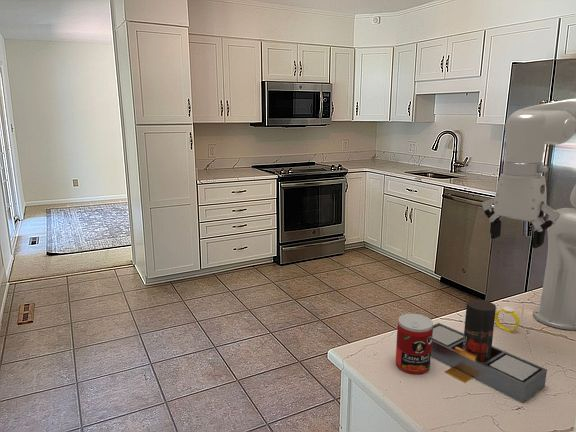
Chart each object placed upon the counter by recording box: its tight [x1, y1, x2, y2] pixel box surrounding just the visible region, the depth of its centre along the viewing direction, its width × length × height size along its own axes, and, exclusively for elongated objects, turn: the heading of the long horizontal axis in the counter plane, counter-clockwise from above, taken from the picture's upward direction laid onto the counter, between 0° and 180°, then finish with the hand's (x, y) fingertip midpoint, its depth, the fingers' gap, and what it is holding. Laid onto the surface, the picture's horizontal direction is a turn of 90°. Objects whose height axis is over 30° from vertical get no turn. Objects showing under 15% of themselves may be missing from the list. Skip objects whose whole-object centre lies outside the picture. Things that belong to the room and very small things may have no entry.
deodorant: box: [463, 298, 497, 363], centre depth 99 cm, size 6×6×15 cm
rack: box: [431, 322, 548, 404], centre depth 99 cm, size 12×26×5 cm, turn 36°
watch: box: [494, 306, 520, 332], centre depth 117 cm, size 6×3×6 cm, turn 39°
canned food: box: [395, 313, 434, 375], centre depth 100 cm, size 8×8×11 cm
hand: (515, 242), depth 103 cm, fingers open, 9 cm apart
